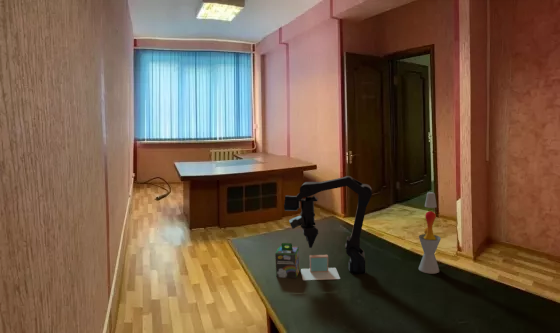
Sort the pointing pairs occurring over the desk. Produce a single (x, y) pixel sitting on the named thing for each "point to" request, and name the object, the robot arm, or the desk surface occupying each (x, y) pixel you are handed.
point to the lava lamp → (429, 239)
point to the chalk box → (287, 261)
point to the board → (320, 274)
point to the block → (318, 263)
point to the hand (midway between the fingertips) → (309, 244)
